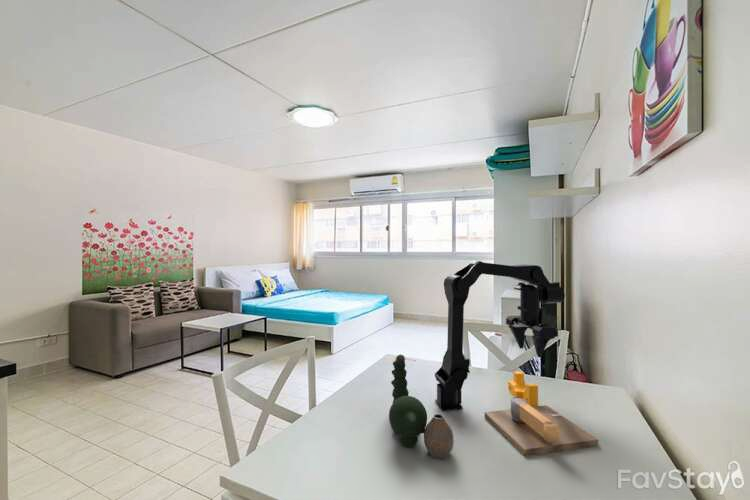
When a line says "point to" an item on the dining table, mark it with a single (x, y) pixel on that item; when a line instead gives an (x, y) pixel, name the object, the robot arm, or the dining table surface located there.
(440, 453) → the vase
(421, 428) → the toy figurine
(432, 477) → the dining table surface
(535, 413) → the latch lever
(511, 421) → the mount plate
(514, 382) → the pipe clamp
